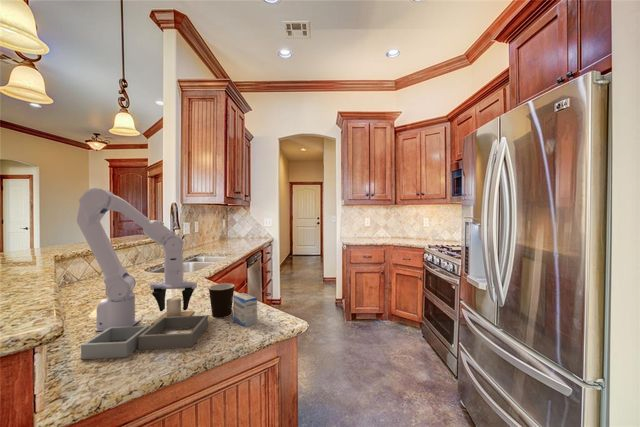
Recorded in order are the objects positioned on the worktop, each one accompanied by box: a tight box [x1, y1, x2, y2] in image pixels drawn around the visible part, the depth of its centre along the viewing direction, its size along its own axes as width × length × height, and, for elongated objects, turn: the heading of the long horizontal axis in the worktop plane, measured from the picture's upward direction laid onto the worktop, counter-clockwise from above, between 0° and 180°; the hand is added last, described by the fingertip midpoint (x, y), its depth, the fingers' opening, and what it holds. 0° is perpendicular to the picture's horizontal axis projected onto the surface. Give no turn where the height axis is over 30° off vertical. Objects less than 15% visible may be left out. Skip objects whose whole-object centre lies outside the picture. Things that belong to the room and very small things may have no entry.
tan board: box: [150, 310, 195, 326], centre depth 93 cm, size 10×10×1 cm
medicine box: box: [232, 292, 258, 328], centre depth 90 cm, size 8×4×9 cm, turn 47°
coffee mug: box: [208, 282, 235, 319], centre depth 98 cm, size 12×9×10 cm
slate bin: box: [80, 325, 150, 360], centre depth 73 cm, size 11×11×4 cm
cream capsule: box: [166, 297, 182, 317], centre depth 93 cm, size 4×4×6 cm
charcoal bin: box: [137, 314, 209, 351], centre depth 79 cm, size 14×14×4 cm
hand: (174, 309), depth 93 cm, fingers open, 7 cm apart
